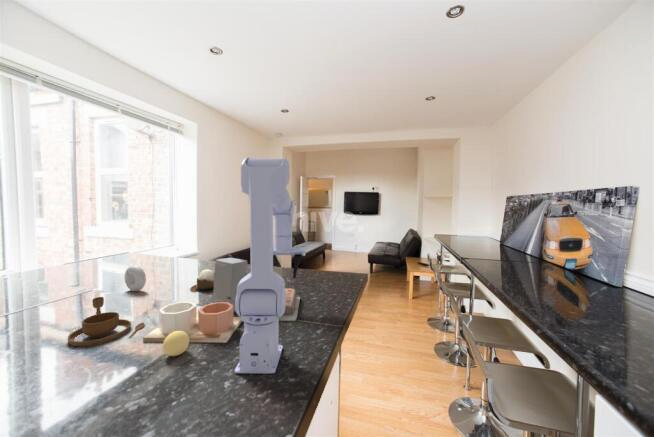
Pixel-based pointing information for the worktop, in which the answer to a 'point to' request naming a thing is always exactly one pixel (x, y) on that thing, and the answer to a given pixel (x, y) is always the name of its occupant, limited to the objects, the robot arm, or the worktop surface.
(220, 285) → the skincare box
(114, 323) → the place setting
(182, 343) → the ball
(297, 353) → the worktop surface
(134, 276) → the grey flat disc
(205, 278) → the skull
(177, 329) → the tube white
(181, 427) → the worktop surface
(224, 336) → the rack board
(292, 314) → the packaged product
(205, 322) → the terracotta octagonal bowl
